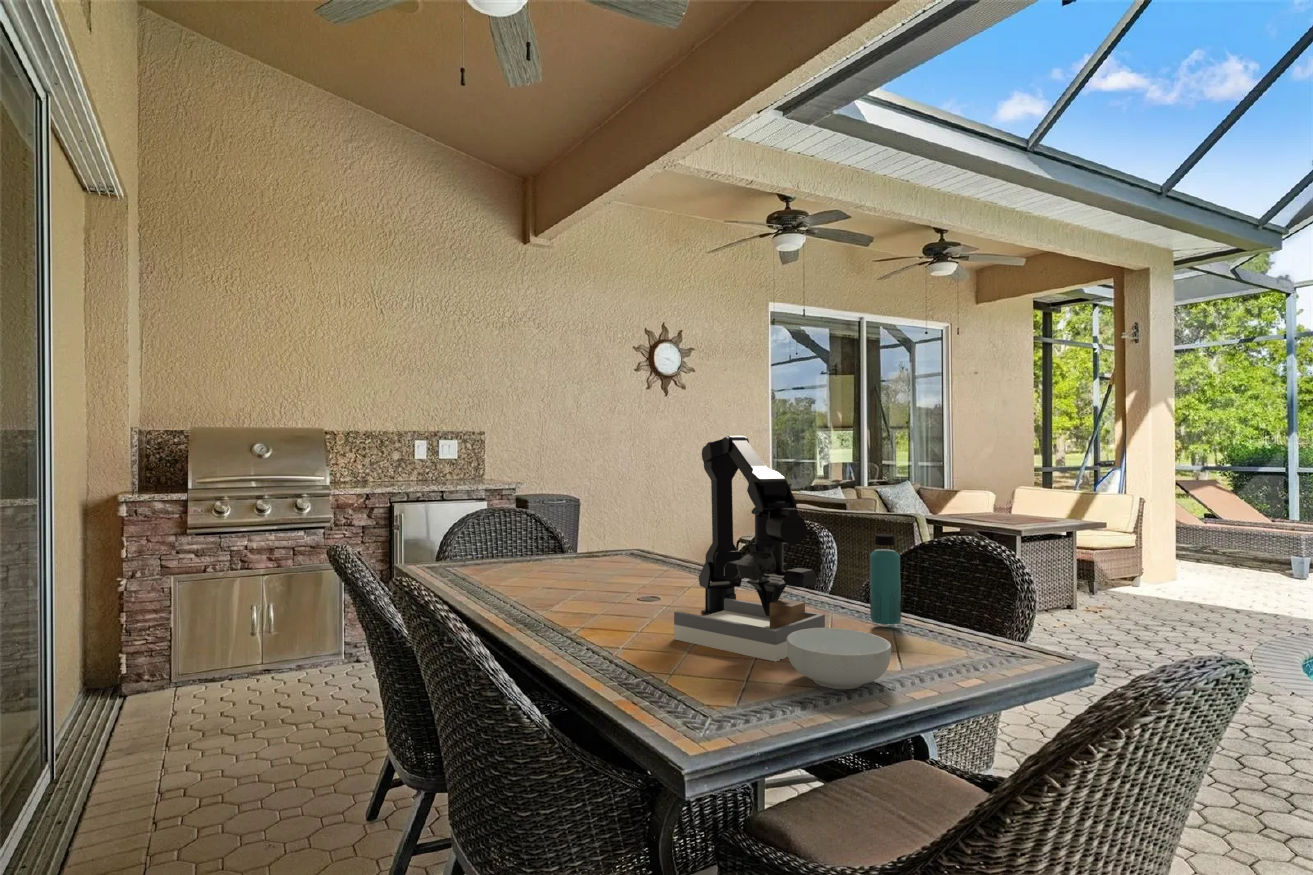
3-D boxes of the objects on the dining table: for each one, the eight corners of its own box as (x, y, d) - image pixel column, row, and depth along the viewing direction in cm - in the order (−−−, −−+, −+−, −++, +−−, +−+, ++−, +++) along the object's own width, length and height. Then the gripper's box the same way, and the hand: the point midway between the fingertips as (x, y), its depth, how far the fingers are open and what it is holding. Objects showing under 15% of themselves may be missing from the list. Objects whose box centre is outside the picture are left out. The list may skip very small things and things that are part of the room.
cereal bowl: (815, 703, 117) (815, 657, 117) (770, 671, 133) (770, 631, 133) (912, 693, 121) (912, 648, 121) (857, 664, 137) (857, 624, 137)
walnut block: (769, 628, 151) (769, 602, 151) (783, 623, 155) (783, 599, 155) (791, 632, 148) (791, 606, 148) (805, 627, 152) (804, 602, 152)
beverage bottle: (905, 631, 161) (905, 536, 161) (873, 631, 161) (873, 536, 161) (896, 624, 167) (896, 532, 167) (865, 624, 167) (865, 532, 167)
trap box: (674, 639, 154) (674, 611, 154) (726, 623, 168) (726, 598, 168) (775, 661, 139) (775, 631, 139) (824, 642, 152) (824, 614, 152)
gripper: (707, 538, 154) (707, 615, 154) (787, 547, 142) (787, 631, 142) (739, 533, 163) (739, 606, 163) (817, 541, 150) (817, 620, 150)
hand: (768, 616), depth 154 cm, fingers closed
